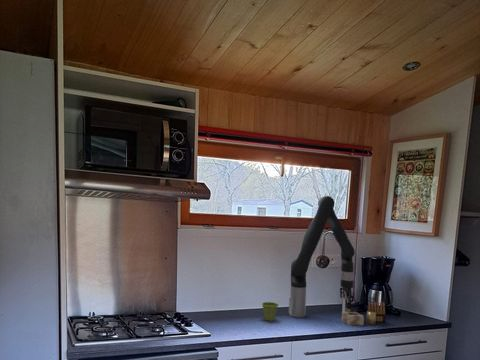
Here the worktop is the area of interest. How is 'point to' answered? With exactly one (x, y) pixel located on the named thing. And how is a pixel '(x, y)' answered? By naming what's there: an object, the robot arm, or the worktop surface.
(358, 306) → the worktop surface
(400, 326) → the worktop surface
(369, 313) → the round bit
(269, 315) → the plant pot
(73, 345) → the worktop surface
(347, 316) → the bit holder
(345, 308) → the square bit
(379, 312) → the ammunition clip
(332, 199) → the robot arm
